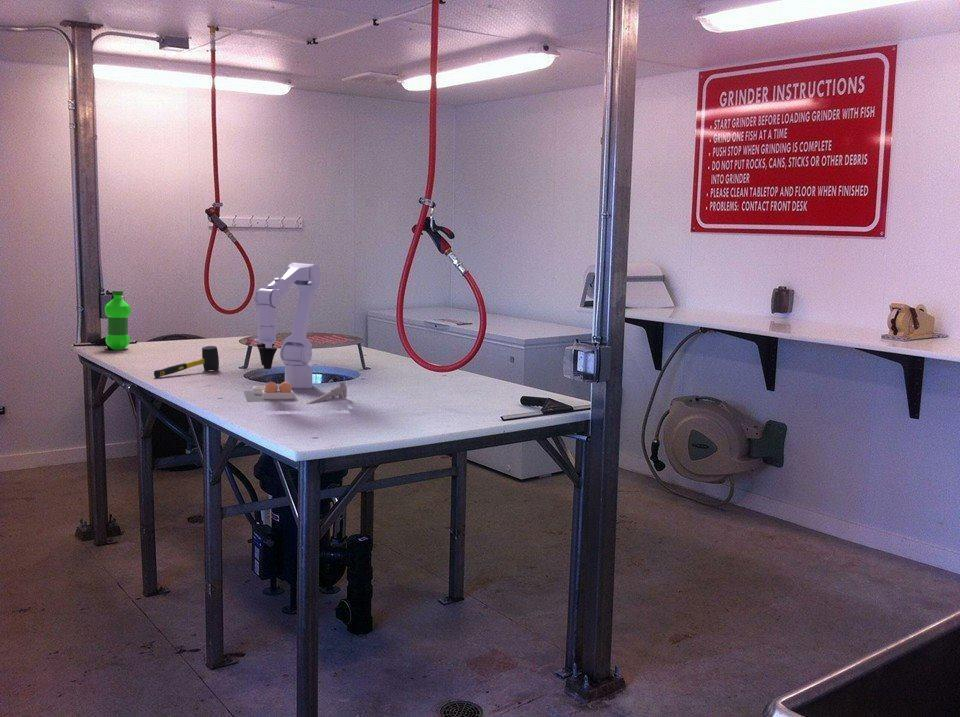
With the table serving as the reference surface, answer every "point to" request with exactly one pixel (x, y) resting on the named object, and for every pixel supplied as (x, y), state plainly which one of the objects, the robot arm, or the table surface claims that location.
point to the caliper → (332, 393)
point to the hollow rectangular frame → (277, 395)
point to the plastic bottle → (117, 321)
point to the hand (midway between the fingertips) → (266, 367)
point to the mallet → (194, 362)
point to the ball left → (285, 387)
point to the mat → (258, 398)
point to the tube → (258, 389)
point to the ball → (271, 387)
